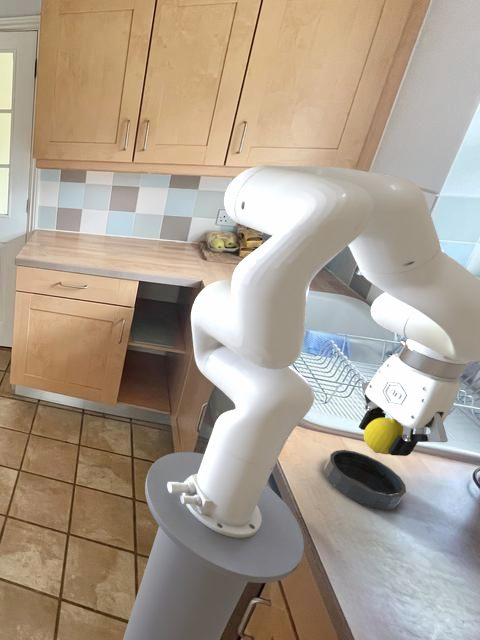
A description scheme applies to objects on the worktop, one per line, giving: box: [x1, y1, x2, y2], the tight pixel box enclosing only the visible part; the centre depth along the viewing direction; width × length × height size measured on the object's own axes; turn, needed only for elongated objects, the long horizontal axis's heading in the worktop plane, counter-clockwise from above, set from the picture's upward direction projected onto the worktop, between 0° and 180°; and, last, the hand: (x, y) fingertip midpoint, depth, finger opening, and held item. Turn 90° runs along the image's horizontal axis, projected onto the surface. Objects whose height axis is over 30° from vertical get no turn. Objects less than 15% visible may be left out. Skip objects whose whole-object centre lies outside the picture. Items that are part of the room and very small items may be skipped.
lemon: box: [363, 417, 404, 455], centre depth 77 cm, size 6×6×8 cm
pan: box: [323, 449, 407, 511], centre depth 82 cm, size 11×11×4 cm
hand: (382, 440), depth 78 cm, fingers closed on lemon, 5 cm apart
